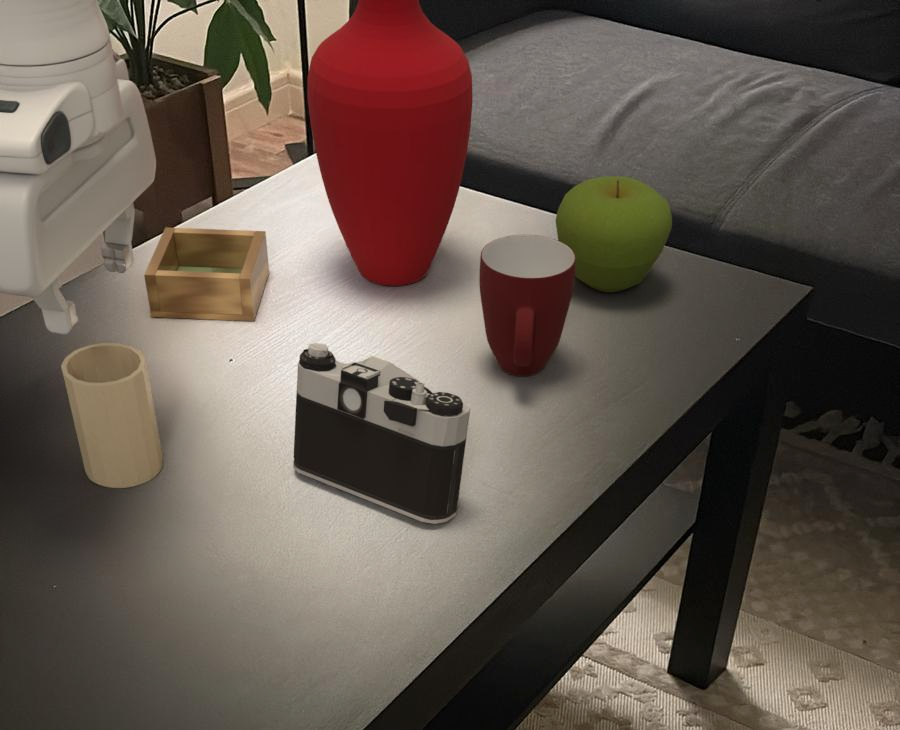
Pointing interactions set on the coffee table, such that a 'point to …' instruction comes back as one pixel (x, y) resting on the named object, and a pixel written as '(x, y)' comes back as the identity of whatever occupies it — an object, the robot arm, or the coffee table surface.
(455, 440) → the camera
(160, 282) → the open wooden box
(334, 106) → the vase
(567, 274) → the mug
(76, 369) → the beige cup
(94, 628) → the coffee table surface
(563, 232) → the apple
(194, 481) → the coffee table surface
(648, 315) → the coffee table surface
